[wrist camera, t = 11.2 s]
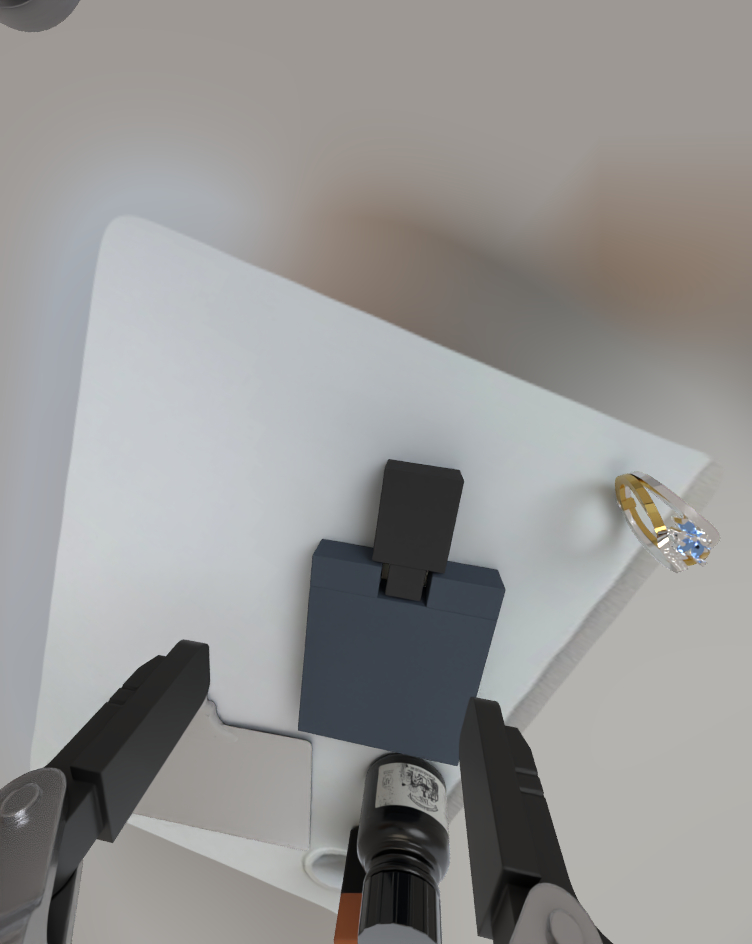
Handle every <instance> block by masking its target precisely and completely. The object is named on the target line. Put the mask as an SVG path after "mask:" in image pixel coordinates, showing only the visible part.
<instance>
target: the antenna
mask: <svg viewBox="0 0 752 944" xmlns="http://www.w3.org/2000/svg"><path fill="white" fill-rule="evenodd" d="M311 761H312V745H311V743H310V742H308V741H306V740H302V739H296V738H291V737H286V736H280V735H275V734H270V733H264V732H259V731H254V730H248V729H243V728H238V727H232V726H227V725H224V724H223V723H222V721H221V720H220V719H219V717H218V715H217V713H216V706H215V704H214V702H212V701H209V700H207V695H206V698H205V700H204V702H203V704H202V706H201V707H200V709H199V710H198V712H197V713H196V715H195V716H194V718H193V720H192V721H191V723H190V724H189V726H188V727H187V729H186V730H185V732H184V733H183V735H182V737H181V738H180V740H179V741H178V743H177V744H176V746H175V747H174V749H173V751H172V752H171V754H170V755H169V757H168V758H167V760H166V761H165V763H164V764H163V766H162V768H161V769H160V771H159V772H158V774H157V775H156V777H155V778H154V780H153V782H152V783H151V785H150V786H149V788H148V789H147V791H146V792H145V794H144V795H143V797H142V799H141V800H140V802H139V803H138V805H137V806H136V808H135V809H134V811H133V814H138V815H142V816H147V817H151V818H156V819H160V820H165V821H170V822H174V823H179V824H183V825H188V826H192V827H197V828H202V829H206V830H211V831H215V832H220V833H224V834H229V835H234V836H238V837H243V838H247V839H252V840H257V841H261V842H266V843H270V844H275V845H279V846H284V847H289V848H293V849H298V850H302V851H307V850H309V844H310V802H311ZM288 844H289V845H288Z"/></svg>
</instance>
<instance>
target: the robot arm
mask: <svg viewBox="0 0 752 944" xmlns="http://www.w3.org/2000/svg"><path fill="white" fill-rule="evenodd" d="M209 685H210V663H209V646H208V644H205V643H200V642H195V641H190V640H181V641H179V642H178V643H177V644H176V645H175V646H174V648H173V649H172V650H171V651H170V652H169V653H168V654H167V656H161V655H158V656H156V657H155V658H153V659H151V660H150V661H148V662H147V663H145V664H144V665H142V666H141V667H139V668H138V669H137V670H136V671H135V672H134V673H133V674H132V676H131V677H130V678H129V679H128V680H127V681H126V682H125V683H124V684H123V687H122V688H119V689H118V690H117V692H116V693H115V694H114V695H113V696H112V697H111V698H110V700H109V702H106V703H105V704H104V705H103V706H102V708H101V709H100V710H99V711H98V712H97V713H96V714H95V715H94V716H93V717H92V718H91V719H90V720H89V721H88V722H87V724H86V725H85V726H84V727H83V728H82V729H81V730H80V731H79V732H78V733H77V734H76V735H75V736H74V737H73V738H72V740H71V741H70V742H69V743H68V744H67V745H66V746H65V747H64V748H63V749H62V750H61V751H60V752H59V753H58V754H57V756H56V757H55V758H54V759H53V760H52V761H51V762H50V763H49V764H47V765H46V766H45V767H44V768H41V769H37V770H33V771H31V772H28V773H26V774H24V775H22V776H20V777H18V778H16V779H15V780H13V781H12V782H10V783H8V784H7V785H6V786H4V787H3V788H2V789H0V944H71V942H72V936H73V928H74V922H75V915H76V909H77V901H78V895H79V888H80V881H81V874H82V867H83V858H84V856H85V855H86V853H87V852H88V850H89V849H90V848H91V846H92V845H93V843H94V842H95V840H96V839H99V840H103V841H107V842H111V843H113V842H114V840H115V839H116V837H117V836H118V834H119V833H120V831H121V829H122V828H123V826H124V824H125V823H126V822H127V820H128V819H129V817H130V816H131V814H132V813H133V811H134V809H135V808H136V806H137V805H138V803H139V802H140V800H141V799H142V797H143V795H144V794H145V792H146V791H147V789H148V788H149V786H150V785H151V783H152V782H153V780H154V778H155V777H156V775H157V774H158V772H159V771H160V769H161V768H162V766H163V764H164V763H165V761H166V760H167V758H168V757H169V755H170V754H171V752H172V751H173V749H174V747H175V746H176V744H177V743H178V741H179V740H180V738H181V737H182V735H183V733H184V732H185V730H186V729H187V727H188V726H189V724H190V723H191V721H192V720H193V718H194V716H195V715H196V713H197V712H198V710H199V709H200V707H201V706H202V704H203V702H204V700H205V698H206V695H207V693H208V689H209ZM459 762H460V771H461V781H462V790H463V800H464V809H465V819H466V828H467V838H468V848H469V857H470V867H471V876H472V885H473V894H474V905H475V914H476V924H477V933H478V936H480V937H484V938H488V939H492V940H493V944H613V943H612V942H610V940H608V939H607V938H606V937H605V936H604V935H603V934H602V933H601V932H600V930H599V929H598V928H597V927H596V926H595V925H594V923H593V921H592V920H591V918H590V916H589V915H588V913H587V912H586V911H585V909H584V908H583V907H582V905H581V904H580V903H579V901H578V899H577V897H576V895H575V892H574V890H573V888H572V885H571V882H570V880H569V877H568V873H567V870H566V866H565V863H564V860H563V856H562V853H561V849H560V846H559V843H558V839H557V836H556V833H555V829H554V826H553V823H552V819H551V816H550V812H549V809H548V806H547V802H546V799H545V798H544V795H543V794H544V792H543V789H542V785H541V782H540V779H539V777H538V772H537V768H536V766H535V762H534V758H533V755H532V752H531V749H530V747H529V746H528V744H527V742H526V741H525V739H524V738H523V736H522V735H521V733H520V731H519V730H518V728H515V727H510V726H505V725H504V721H503V717H502V713H501V709H500V706H499V703H498V702H496V701H491V700H486V699H481V698H476V697H470V699H469V702H468V706H467V710H466V714H465V718H464V722H463V725H462V729H461V733H460V740H459Z"/></svg>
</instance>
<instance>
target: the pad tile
mask: <svg viewBox="0 0 752 944" xmlns="http://www.w3.org/2000/svg"><path fill="white" fill-rule="evenodd" d="M463 484H464V480H463V477H462V475H461V472H460V470H455V469H448V468H442V467H435V466H429V465H422V464H416V463H410V462H403V461H397V460H390V459H388V462H387V464H386V467H385V471H384V478H383V485H382V493H381V500H380V507H379V514H378V521H377V528H376V535H375V542H374V549H373V556H372V560H373V561H378V562H383V563H389V564H390V566H389V572H388V579H387V585H386V591H385V595H389V596H395V597H400V598H405V599H411V600H416V601H420V600H421V595H422V589H423V584H424V579H425V574H426V570H428V571H433V572H439V573H445V569H446V565H447V560H448V555H449V550H450V546H451V541H452V536H453V531H454V527H455V522H456V517H457V512H458V508H459V503H460V498H461V494H462V489H463Z"/></svg>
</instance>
